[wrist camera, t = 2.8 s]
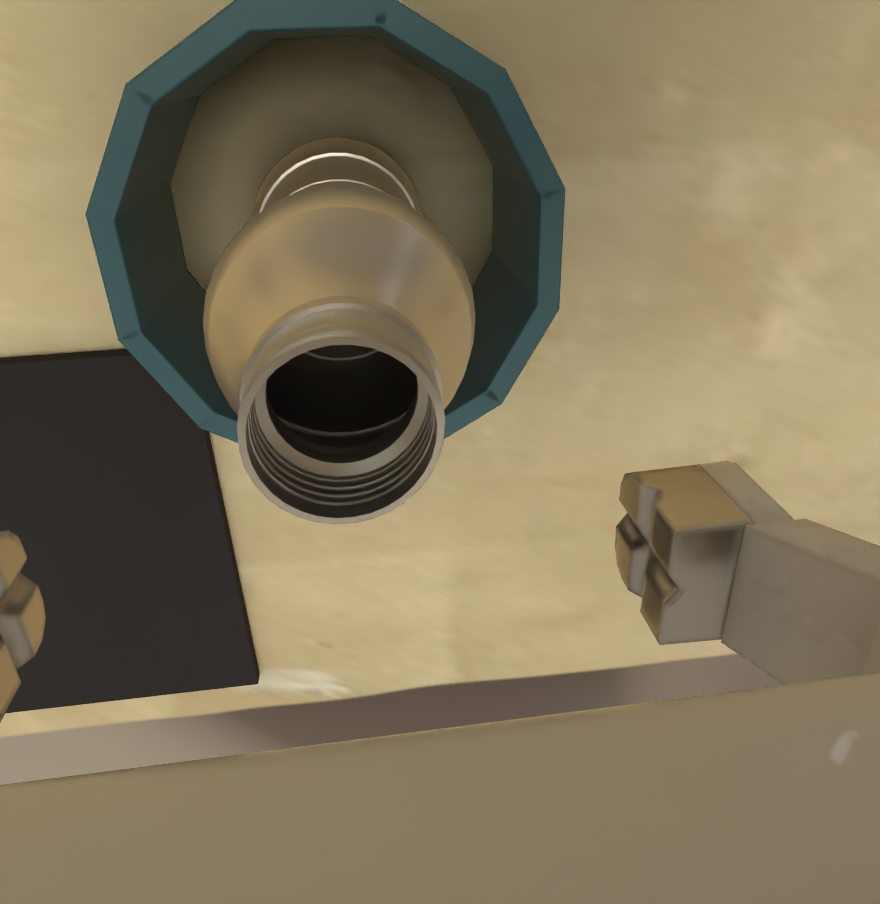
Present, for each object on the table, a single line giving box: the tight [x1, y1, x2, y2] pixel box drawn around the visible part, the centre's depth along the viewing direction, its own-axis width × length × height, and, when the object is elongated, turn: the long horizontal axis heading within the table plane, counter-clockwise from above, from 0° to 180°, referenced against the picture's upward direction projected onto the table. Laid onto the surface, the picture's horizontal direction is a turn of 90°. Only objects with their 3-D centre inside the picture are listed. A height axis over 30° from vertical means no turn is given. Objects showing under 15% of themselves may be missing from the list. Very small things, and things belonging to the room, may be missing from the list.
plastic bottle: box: [203, 138, 476, 524], centre depth 21 cm, size 6×7×20 cm
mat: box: [0, 349, 259, 713], centre depth 35 cm, size 20×16×1 cm
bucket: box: [86, 0, 565, 443], centre depth 26 cm, size 15×15×8 cm
